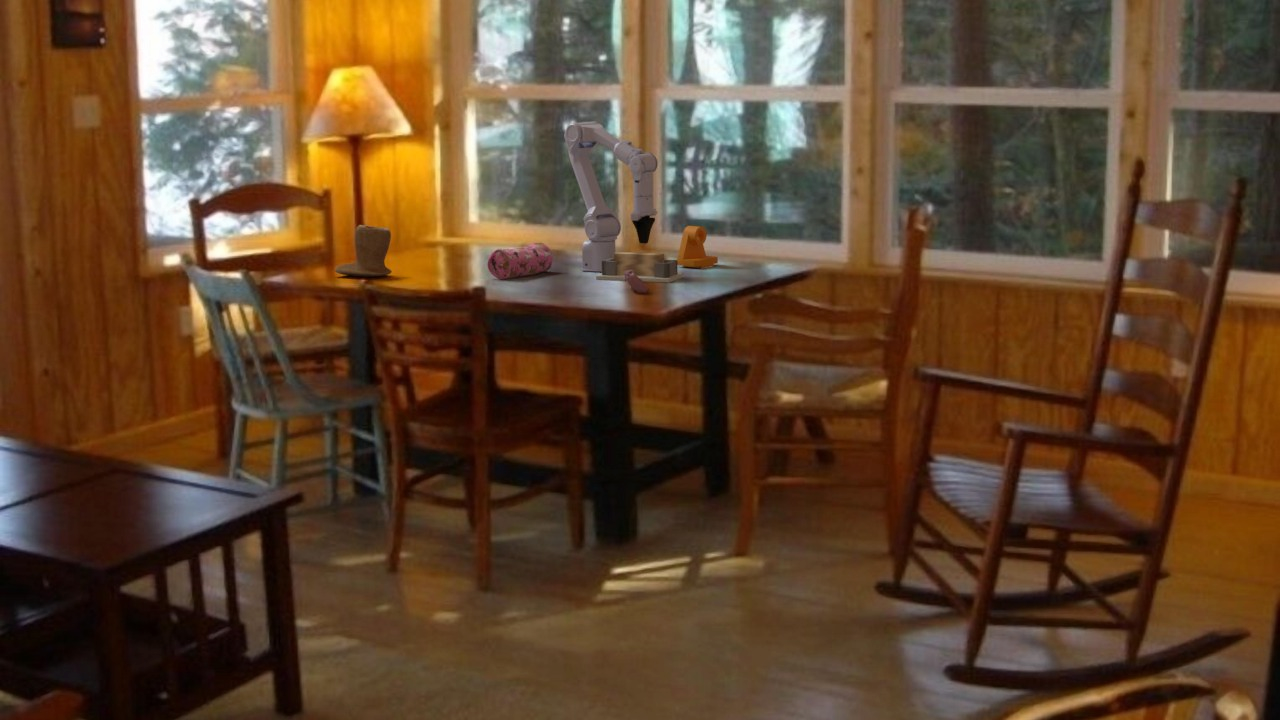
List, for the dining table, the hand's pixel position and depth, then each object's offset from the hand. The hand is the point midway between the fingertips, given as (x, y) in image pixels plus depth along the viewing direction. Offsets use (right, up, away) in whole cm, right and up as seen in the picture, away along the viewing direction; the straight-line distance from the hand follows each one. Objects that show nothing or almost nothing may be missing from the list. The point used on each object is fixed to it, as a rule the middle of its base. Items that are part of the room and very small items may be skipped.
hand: (643, 243), depth 497 cm
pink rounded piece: (-2, -15, -27) cm, 31 cm away
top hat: (-80, -9, +7) cm, 81 cm away
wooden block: (-1, -9, -4) cm, 10 cm away
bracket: (+16, -6, +19) cm, 26 cm away
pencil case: (-36, -9, +5) cm, 37 cm away
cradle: (-1, -10, -4) cm, 11 cm away
